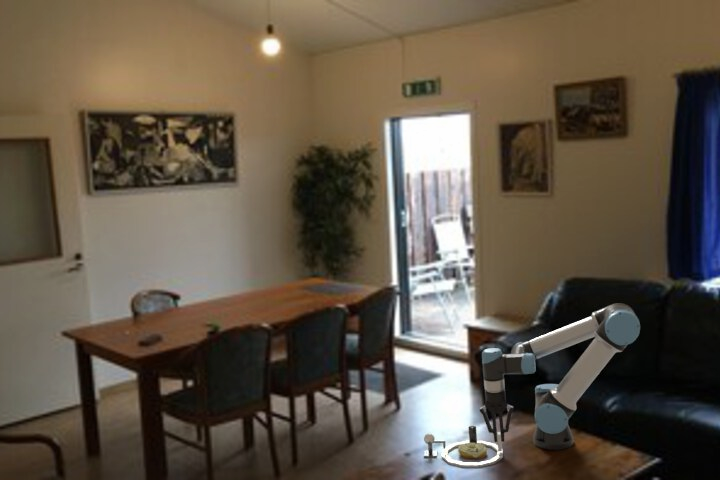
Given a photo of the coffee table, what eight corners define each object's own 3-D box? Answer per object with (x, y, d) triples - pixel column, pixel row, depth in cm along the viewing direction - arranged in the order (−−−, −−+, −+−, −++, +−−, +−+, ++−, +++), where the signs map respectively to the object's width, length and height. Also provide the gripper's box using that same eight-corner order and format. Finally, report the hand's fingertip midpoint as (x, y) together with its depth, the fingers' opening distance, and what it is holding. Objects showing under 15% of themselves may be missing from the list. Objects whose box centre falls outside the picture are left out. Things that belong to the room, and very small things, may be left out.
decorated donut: (479, 462, 274) (479, 452, 274) (453, 457, 280) (453, 447, 280) (491, 453, 283) (491, 443, 282) (466, 448, 289) (465, 439, 288)
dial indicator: (446, 452, 286) (445, 430, 285) (445, 458, 281) (444, 435, 280) (425, 452, 288) (423, 430, 287) (423, 458, 283) (422, 435, 282)
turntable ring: (502, 442, 291) (501, 425, 290) (502, 467, 268) (501, 448, 267) (444, 442, 296) (443, 426, 295) (440, 467, 273) (438, 449, 272)
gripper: (512, 385, 279) (517, 445, 282) (477, 387, 282) (483, 446, 284) (512, 392, 272) (517, 453, 274) (477, 393, 275) (482, 454, 277)
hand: (500, 449), depth 279 cm, fingers closed
